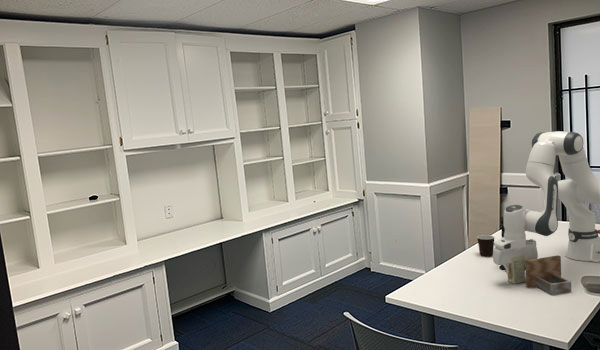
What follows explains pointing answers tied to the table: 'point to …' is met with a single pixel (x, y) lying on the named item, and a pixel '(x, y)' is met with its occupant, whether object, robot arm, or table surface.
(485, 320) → the table surface
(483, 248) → the coffee mug
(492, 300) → the table surface
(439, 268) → the table surface
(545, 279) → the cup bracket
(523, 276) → the skincare box
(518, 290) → the table surface
